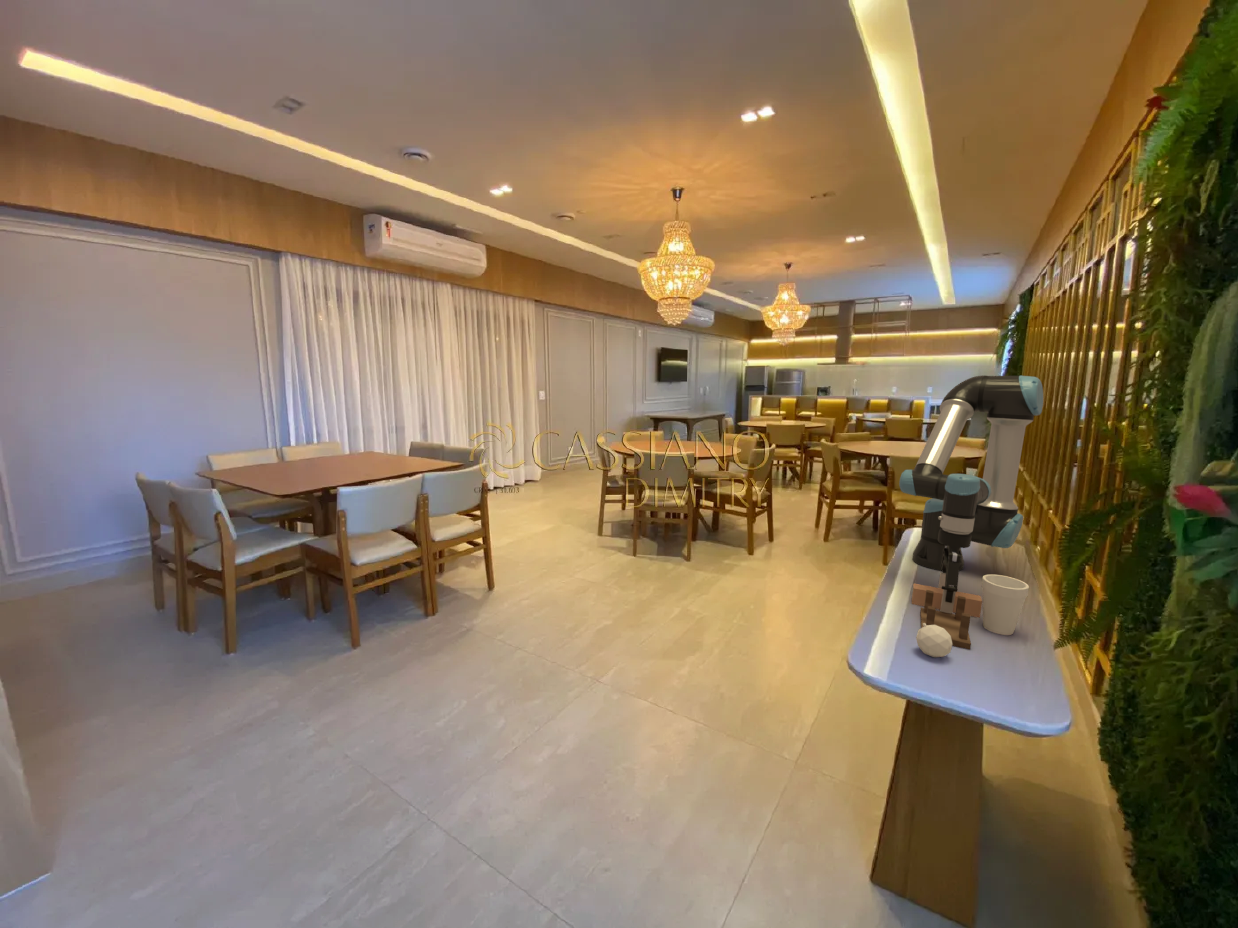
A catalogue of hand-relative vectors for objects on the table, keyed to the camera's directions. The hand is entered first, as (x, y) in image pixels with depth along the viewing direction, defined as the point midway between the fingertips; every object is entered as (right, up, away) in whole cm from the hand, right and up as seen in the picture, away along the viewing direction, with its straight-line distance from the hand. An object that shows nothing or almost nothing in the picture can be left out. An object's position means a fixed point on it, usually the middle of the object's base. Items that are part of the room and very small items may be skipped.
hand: (944, 603), depth 140 cm
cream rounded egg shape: (-18, -6, -23) cm, 30 cm away
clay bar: (0, -2, +1) cm, 2 cm away
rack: (-8, -4, -12) cm, 15 cm away
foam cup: (+7, -4, -11) cm, 13 cm away
